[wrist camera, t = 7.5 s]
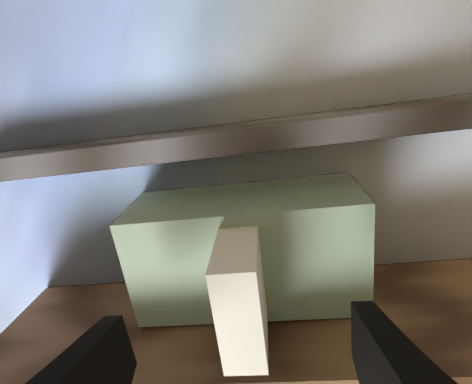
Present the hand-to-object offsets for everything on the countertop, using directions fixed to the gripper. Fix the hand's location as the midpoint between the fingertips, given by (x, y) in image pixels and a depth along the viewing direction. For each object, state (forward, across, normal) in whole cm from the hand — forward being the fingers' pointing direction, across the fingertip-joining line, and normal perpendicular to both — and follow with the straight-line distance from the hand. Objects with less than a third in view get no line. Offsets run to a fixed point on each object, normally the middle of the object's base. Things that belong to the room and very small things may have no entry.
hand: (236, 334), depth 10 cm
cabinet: (+7, 0, 0) cm, 7 cm away
